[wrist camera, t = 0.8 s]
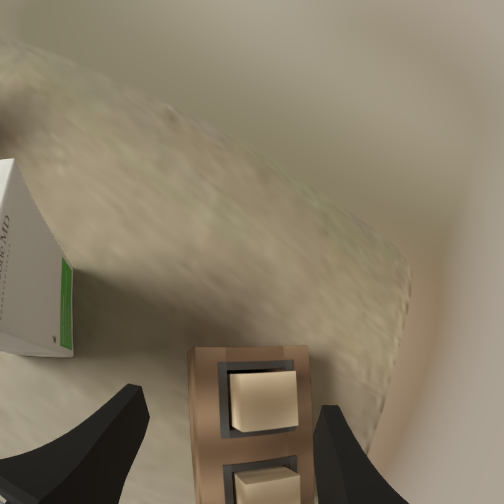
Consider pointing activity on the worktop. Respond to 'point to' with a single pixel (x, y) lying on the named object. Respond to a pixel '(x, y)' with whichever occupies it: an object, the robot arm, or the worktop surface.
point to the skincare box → (31, 276)
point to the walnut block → (233, 440)
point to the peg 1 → (262, 400)
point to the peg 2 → (266, 486)
